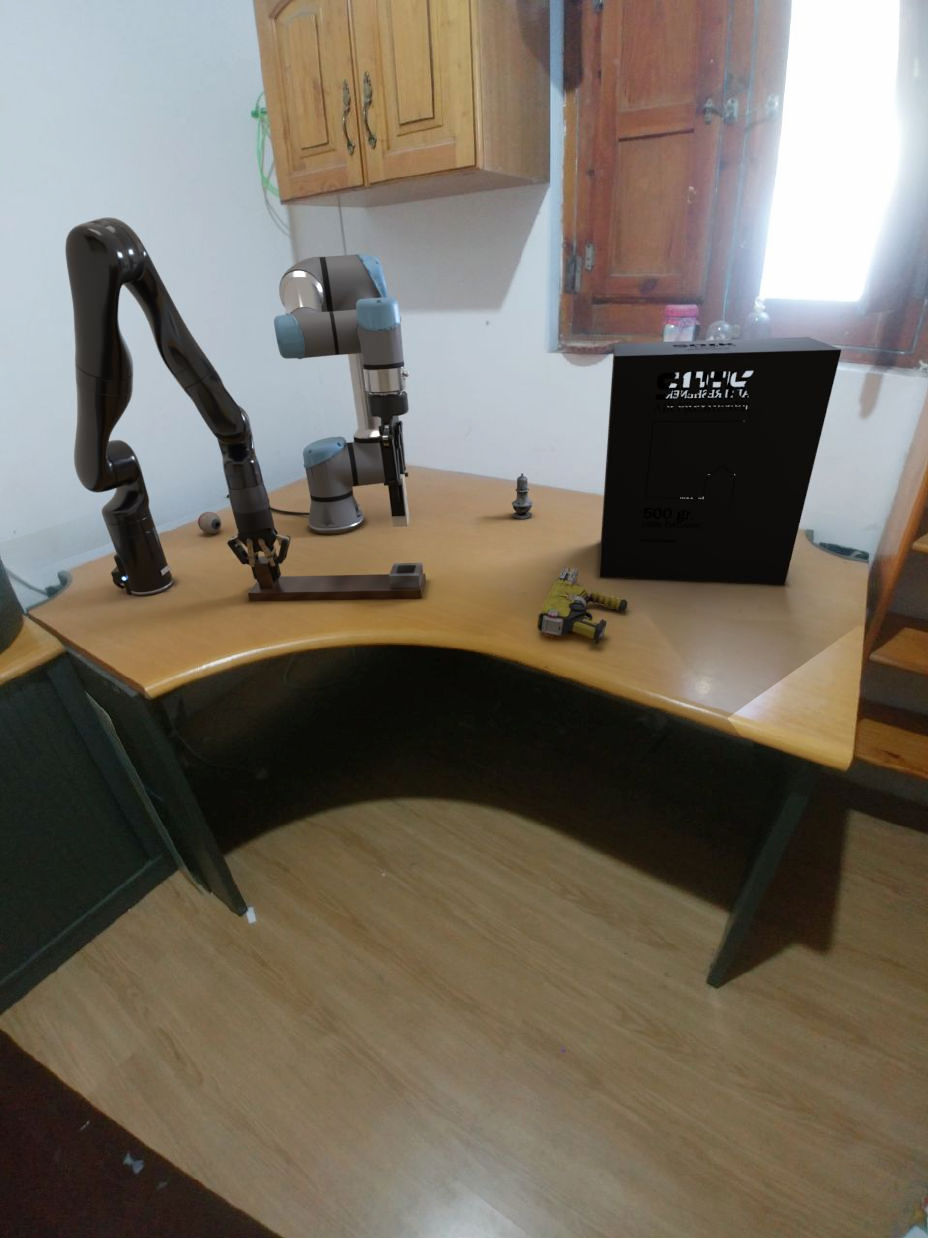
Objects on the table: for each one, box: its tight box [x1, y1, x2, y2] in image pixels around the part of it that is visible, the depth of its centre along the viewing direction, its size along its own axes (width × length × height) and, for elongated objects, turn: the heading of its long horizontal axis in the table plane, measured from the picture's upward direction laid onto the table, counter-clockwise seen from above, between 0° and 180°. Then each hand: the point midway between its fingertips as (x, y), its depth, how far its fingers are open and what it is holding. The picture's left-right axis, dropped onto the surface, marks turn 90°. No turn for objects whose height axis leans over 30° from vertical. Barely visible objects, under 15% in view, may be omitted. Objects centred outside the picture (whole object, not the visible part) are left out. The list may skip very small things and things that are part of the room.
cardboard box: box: [599, 336, 842, 586], centre depth 126 cm, size 38×20×45 cm, turn 78°
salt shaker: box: [511, 472, 534, 520], centre depth 165 cm, size 6×6×12 cm
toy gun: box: [536, 566, 629, 645], centre depth 118 cm, size 5×24×15 cm
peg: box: [391, 474, 410, 528], centre depth 122 cm, size 3×3×10 cm
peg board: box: [247, 555, 427, 602], centre depth 132 cm, size 38×8×8 cm, turn 86°
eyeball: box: [197, 511, 222, 534], centre depth 167 cm, size 6×6×6 cm
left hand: (268, 579), depth 133 cm, fingers closed on peg board, 3 cm apart
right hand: (399, 512), depth 123 cm, fingers closed on peg, 3 cm apart
